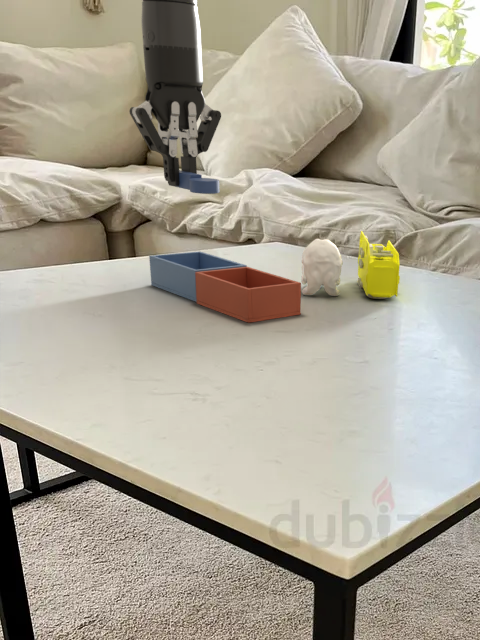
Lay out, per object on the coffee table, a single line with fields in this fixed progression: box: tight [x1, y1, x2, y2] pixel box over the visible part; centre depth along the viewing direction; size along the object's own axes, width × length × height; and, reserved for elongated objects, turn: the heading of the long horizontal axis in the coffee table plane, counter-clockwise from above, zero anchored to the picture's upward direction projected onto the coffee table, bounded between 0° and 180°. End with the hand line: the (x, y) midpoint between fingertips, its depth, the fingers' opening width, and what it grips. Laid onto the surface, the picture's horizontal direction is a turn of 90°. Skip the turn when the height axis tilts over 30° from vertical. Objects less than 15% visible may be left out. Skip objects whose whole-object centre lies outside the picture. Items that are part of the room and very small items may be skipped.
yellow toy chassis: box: [357, 230, 401, 300], centre depth 128 cm, size 16×6×8 cm, turn 7°
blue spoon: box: [169, 169, 221, 195], centre depth 109 cm, size 4×10×2 cm, turn 44°
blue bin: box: [148, 250, 248, 303], centre depth 121 cm, size 9×13×4 cm
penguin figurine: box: [301, 238, 344, 297], centre depth 125 cm, size 6×8×12 cm
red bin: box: [195, 266, 302, 324], centre depth 112 cm, size 9×13×4 cm
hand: (181, 184), depth 111 cm, fingers closed on blue spoon, 2 cm apart
